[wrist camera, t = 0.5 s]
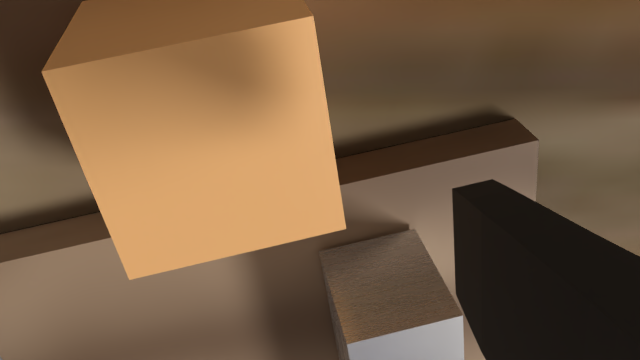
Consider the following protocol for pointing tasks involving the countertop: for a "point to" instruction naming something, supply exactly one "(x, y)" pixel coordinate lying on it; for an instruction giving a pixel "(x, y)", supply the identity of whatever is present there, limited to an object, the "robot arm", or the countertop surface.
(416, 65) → the countertop surface
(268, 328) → the flat wooden platform
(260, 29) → the light brown cube
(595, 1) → the countertop surface
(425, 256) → the grey rectangular block
